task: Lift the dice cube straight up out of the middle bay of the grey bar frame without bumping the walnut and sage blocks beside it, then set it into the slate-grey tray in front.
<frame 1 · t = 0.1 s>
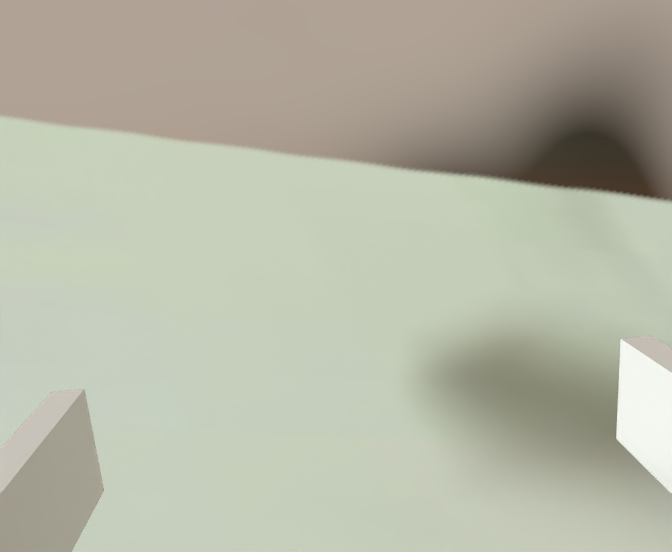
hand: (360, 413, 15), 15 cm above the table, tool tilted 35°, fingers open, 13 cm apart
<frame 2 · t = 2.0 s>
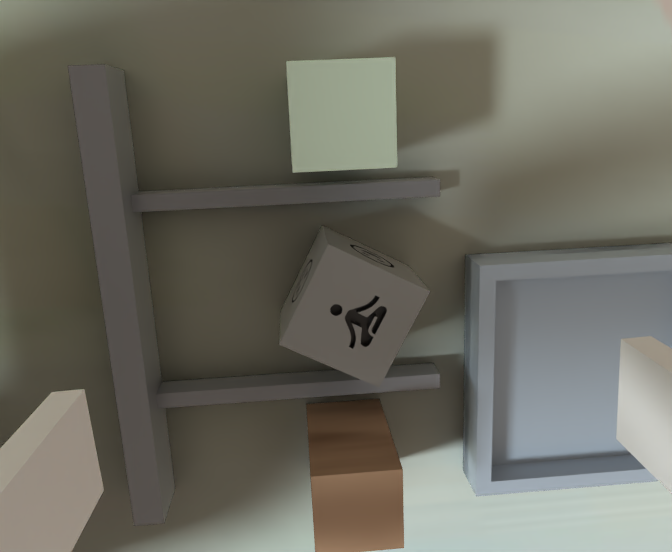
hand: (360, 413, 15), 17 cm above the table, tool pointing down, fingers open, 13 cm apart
dice cube: (344, 287, 32), on the table
slate tray: (576, 359, 33), on the table
grey bar frame: (337, 286, 31), on the table
sage block: (330, 117, 29), on the table
walnut block: (344, 434, 34), on the table
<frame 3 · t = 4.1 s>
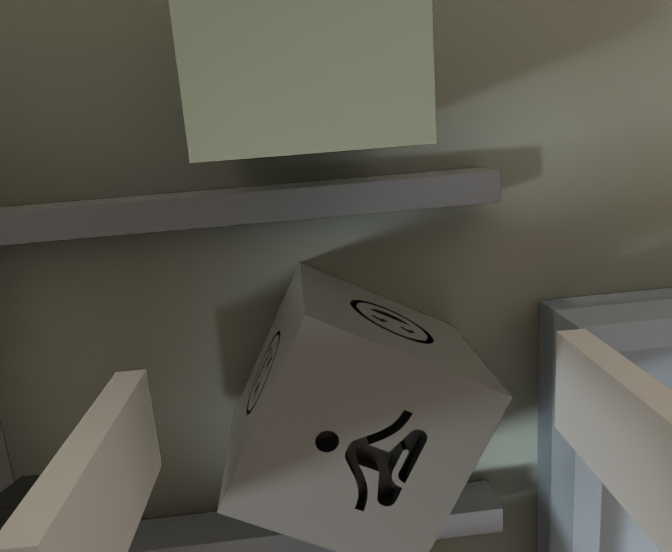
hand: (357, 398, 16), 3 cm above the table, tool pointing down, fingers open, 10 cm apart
dice cube: (342, 364, 18), on the table
grey bar frame: (321, 363, 18), on the table
sage block: (295, 64, 16), on the table
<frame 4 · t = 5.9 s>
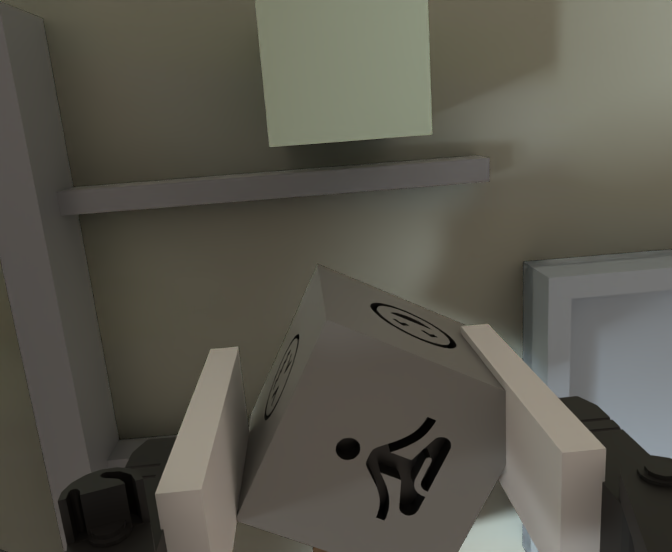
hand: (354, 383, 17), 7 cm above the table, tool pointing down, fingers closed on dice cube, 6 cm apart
dice cube: (360, 368, 18), point 5 cm above the table, touching gripper
grey bar frame: (349, 309, 23), on the table
sage block: (333, 75, 21), on the table
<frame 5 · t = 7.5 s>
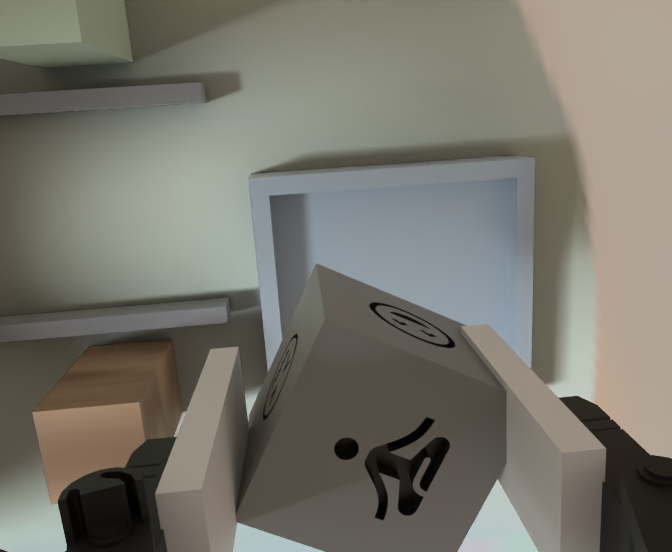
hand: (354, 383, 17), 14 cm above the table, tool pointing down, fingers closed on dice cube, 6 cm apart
dice cube: (359, 368, 18), point 12 cm above the table, touching gripper
slate tray: (390, 291, 30), on the table
grey bar frame: (109, 212, 28), on the table
sage block: (79, 16, 26), on the table
walnut block: (136, 380, 30), on the table
when the fingers open (3 cm above the table, at t = 10.3 s): dice cube drops 1 cm, resting on slate tray.
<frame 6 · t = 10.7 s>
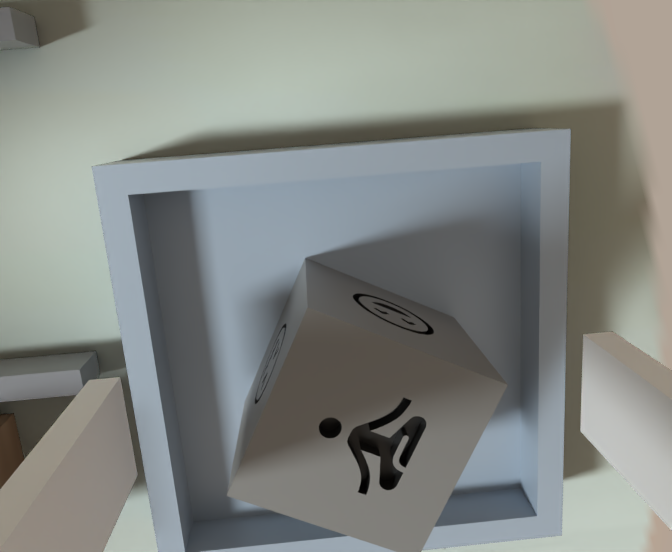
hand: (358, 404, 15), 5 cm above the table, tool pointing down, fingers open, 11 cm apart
dice cube: (348, 357, 19), point 1 cm above the table, touching slate tray
slate tray: (344, 340, 20), on the table
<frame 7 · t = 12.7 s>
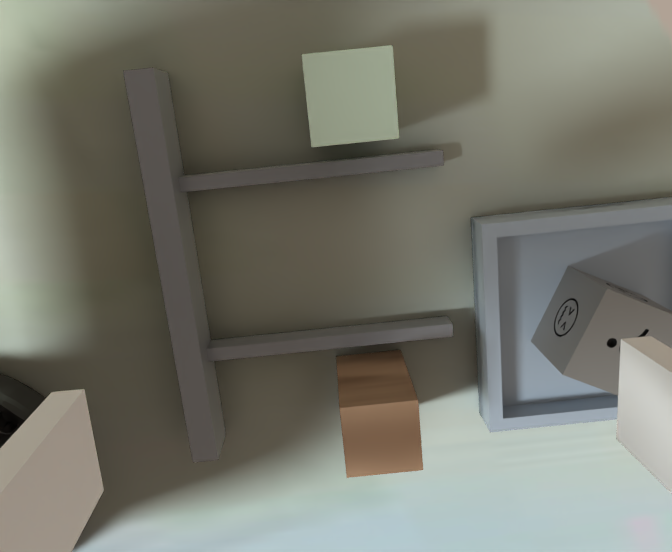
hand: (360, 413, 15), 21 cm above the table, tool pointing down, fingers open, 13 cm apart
dice cube: (584, 317, 36), point 1 cm above the table, touching slate tray
slate tray: (577, 308, 37), on the table
grey bar frame: (358, 250, 36), on the table
sage block: (345, 101, 34), on the table
walnut block: (371, 382, 38), on the table
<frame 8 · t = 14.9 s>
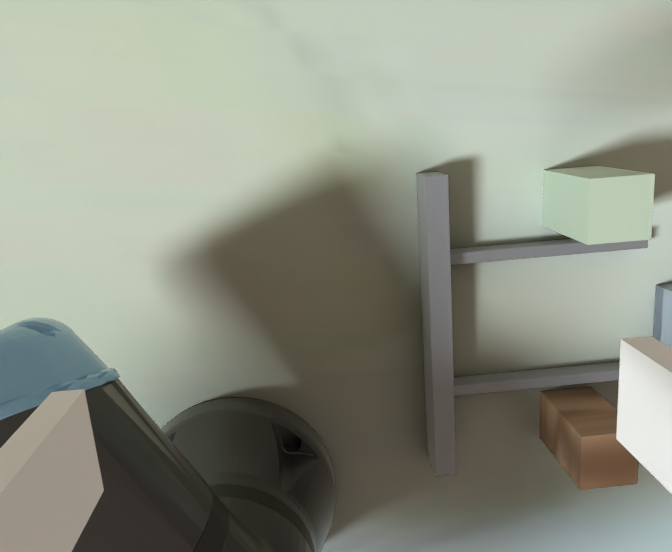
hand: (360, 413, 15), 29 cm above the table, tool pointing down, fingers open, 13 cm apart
grey bar frame: (567, 309, 45), on the table
sage block: (570, 196, 43), on the table
walnut block: (565, 412, 47), on the table
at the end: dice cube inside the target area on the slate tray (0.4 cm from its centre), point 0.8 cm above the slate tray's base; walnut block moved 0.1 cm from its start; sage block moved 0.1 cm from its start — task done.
